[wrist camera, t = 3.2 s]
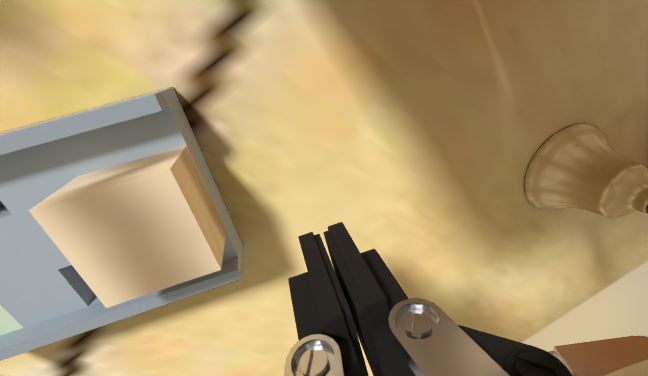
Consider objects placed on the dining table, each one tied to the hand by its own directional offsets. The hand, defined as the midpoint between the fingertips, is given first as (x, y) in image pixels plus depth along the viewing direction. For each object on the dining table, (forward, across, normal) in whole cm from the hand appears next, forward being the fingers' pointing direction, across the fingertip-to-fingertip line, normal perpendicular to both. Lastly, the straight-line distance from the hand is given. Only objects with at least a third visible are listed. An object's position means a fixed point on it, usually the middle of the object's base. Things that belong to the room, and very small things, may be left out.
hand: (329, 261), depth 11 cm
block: (+9, +8, -1) cm, 12 cm away
